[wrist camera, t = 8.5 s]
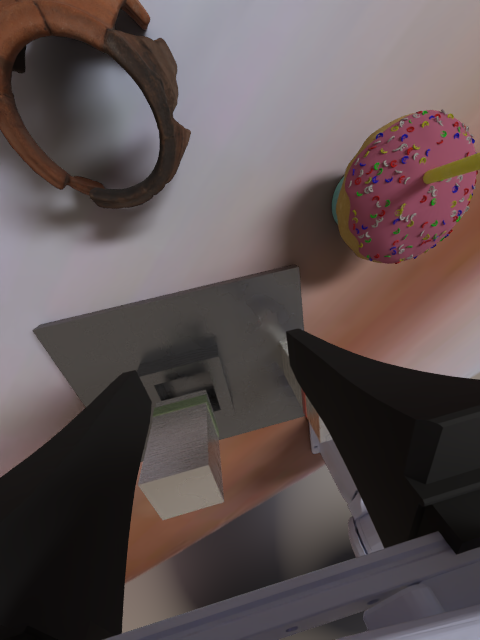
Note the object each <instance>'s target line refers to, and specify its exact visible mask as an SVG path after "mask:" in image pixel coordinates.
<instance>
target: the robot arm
mask: <svg viewBox="0 0 480 640" xmlns="http://www.w3.org/2000/svg"><path fill="white" fill-rule="evenodd" d="M286 337H287V345H288V354H289V362H290V367H291V369H292V371H293V373H294V375H295V378H296V380H297V382H298V383H299V385H300V387H301V388H302V390H303V391H304V393H305V395H306V396H307V398H308V399H309V401H310V402H311V404H312V405H313V407H314V409H315V410H316V412H317V413H318V415H319V416H320V418H321V419H322V421H323V423H324V424H325V426H326V428H327V430H328V431H329V433H330V435H331V437H332V439H333V440H329V441H326V442H322V443H320V441H319V439H318V438H317V436H316V434H315V432H314V430H313V428H312V426H311V424H310V422H309V429H310V441H311V451H312V453H313V454H317V453H320V454H321V456H322V458H323V460H324V462H325V464H326V466H327V467H328V469H329V471H330V473H331V475H332V477H333V479H334V481H335V483H336V485H337V487H338V489H339V491H340V493H341V495H342V497H343V498H344V500H345V501H346V502H347V506H348V508H349V510H350V512H351V514H352V517H351V518H350V519H349V522H348V526H349V538H350V542H351V545H352V548H353V551H354V553H355V556H356V558H354V559H351V560H348V561H345V562H341V563H338V564H335V565H332V566H329V567H326V568H323V569H320V570H317V571H314V572H310V573H307V574H304V575H301V576H298V577H295V578H292V579H289V580H286V581H283V582H280V583H276V584H273V585H270V586H267V587H264V588H261V589H258V590H255V591H252V592H249V593H246V594H242V595H240V596H236V597H233V598H230V599H227V600H224V601H221V602H218V603H215V604H212V605H209V606H205V607H202V608H199V609H196V610H193V611H190V612H187V613H184V614H181V615H177V616H175V617H172V618H168V619H165V620H162V621H159V622H156V623H153V624H150V625H147V626H144V627H141V628H137V629H134V630H131V631H128V632H125V633H122V617H123V600H124V584H125V572H126V560H127V549H128V539H129V530H130V522H131V513H132V506H133V499H134V492H135V485H136V480H137V475H138V471H139V467H140V462H141V458H142V454H143V450H144V446H145V442H146V438H147V433H148V429H149V424H150V417H151V406H152V401H151V399H150V397H149V395H148V393H147V391H146V389H145V387H144V385H143V383H142V381H141V379H140V377H139V375H138V374H137V372H136V370H133V371H129V372H125V373H122V374H121V375H120V376H118V377H117V378H116V379H115V380H114V381H113V382H112V383H111V384H110V385H109V386H108V387H107V388H106V389H105V390H104V391H103V392H102V393H101V394H100V395H98V396H97V397H96V398H95V399H94V400H93V401H92V402H91V403H90V404H89V405H88V406H87V407H86V408H85V409H84V410H83V411H82V412H81V413H80V414H79V415H78V416H76V417H75V418H74V419H73V420H72V421H71V422H70V423H69V424H68V425H67V426H66V427H64V428H63V429H62V430H61V431H60V432H59V433H58V434H56V435H55V436H54V437H53V438H52V439H51V440H49V441H48V442H47V443H46V444H44V445H43V446H42V447H41V448H39V449H38V450H37V451H36V452H34V453H33V454H32V455H31V456H29V457H28V458H27V459H25V460H24V461H23V462H21V463H20V464H18V465H17V466H16V467H14V468H13V469H12V470H10V471H9V472H8V473H6V474H5V475H3V476H2V477H1V478H0V640H279V639H281V638H284V637H287V636H290V635H293V634H296V633H299V632H302V631H305V630H308V629H311V628H314V627H317V626H320V625H323V624H326V623H329V622H332V621H335V620H338V619H340V618H343V617H346V616H349V615H352V614H355V613H358V612H361V611H364V610H366V611H365V612H364V618H363V619H364V621H365V623H366V626H367V631H366V632H363V633H359V634H355V635H351V636H346V637H342V638H338V639H334V640H480V380H477V379H469V378H460V377H452V376H446V375H440V374H434V373H428V372H422V371H417V370H412V369H408V368H403V367H399V366H395V365H391V364H387V363H383V362H380V361H376V360H373V359H370V358H367V357H364V356H361V355H358V354H355V353H352V352H350V351H347V350H345V349H342V348H340V347H337V346H335V345H333V344H330V343H328V342H326V341H324V340H322V339H320V338H318V337H315V336H313V335H311V334H309V333H307V332H305V331H303V330H301V329H299V328H297V329H293V330H290V331H286ZM367 609H368V610H367Z"/></svg>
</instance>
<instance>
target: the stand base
mask: <svg viewBox="0 0 480 640" xmlns="http://www.w3.org/2000/svg"><path fill="white" fill-rule="evenodd" d="M297 328H299V329H301V330H303V331H304V324H303V311H302V298H301V285H300V272H299V266H297V265H295V264H294V265H290V266H286V267H281V268H277V269H273V270H269V271H265V272H260V273H256V274H252V275H248V276H244V277H239V278H235V279H231V280H227V281H222V282H218V283H214V284H210V285H206V286H201V287H197V288H193V289H189V290H185V291H180V292H176V293H172V294H168V295H163V296H159V297H155V298H151V299H147V300H142V301H138V302H134V303H130V304H126V305H121V306H117V307H113V308H109V309H104V310H100V311H96V312H92V313H88V314H83V315H79V316H75V317H71V318H67V319H62V320H58V321H54V322H50V323H45V324H41V325H39V326H38V327H36V328H35V329H34V330H33V332H34V333H35V335H36V336H37V338H38V339H39V340H40V342H41V343H42V345H43V346H44V348H45V349H46V351H47V352H48V353H49V355H50V356H51V358H52V359H53V361H54V362H55V364H56V365H57V366H58V368H59V369H60V371H61V372H62V374H63V375H64V377H65V378H66V379H67V381H68V382H69V384H70V385H71V387H72V388H73V390H74V391H75V392H76V394H77V395H78V397H79V398H80V400H81V401H82V403H83V404H84V405H85V407H87V406H88V405H89V404H90V403H91V402H92V401H93V400H94V399H95V398H96V397H97V396H98V395H100V394H101V393H102V392H103V391H104V390H105V389H106V388H107V387H108V386H109V385H110V384H111V383H112V382H113V381H114V380H115V379H116V378H117V377H118V376H120V375H121V374H122V373H125V372H129V371H133V370H136V372H137V374H138V375H139V377H140V379H141V381H142V383H143V385H144V387H145V389H146V391H147V393H148V395H149V397H150V399H151V401H152V406H151V417H150V424H149V429H148V433H147V438H146V442H145V446H144V450H143V454H142V458H141V462H142V461H144V456H145V452H146V448H147V443H148V439H149V434H150V430H151V425H152V421H153V412H154V408H155V407H156V403H157V402H160V401H164V400H168V399H171V398H175V397H179V396H183V395H186V394H190V393H194V392H198V391H201V390H205V389H206V392H207V395H208V397H209V400H210V403H211V406H212V409H213V412H214V415H215V418H216V421H217V425H218V429H219V440H221V439H224V438H228V437H232V436H235V435H239V434H242V433H246V432H249V431H253V430H257V429H260V428H264V427H267V426H271V425H274V424H278V423H282V422H285V421H289V420H292V419H296V418H299V417H303V416H306V418H307V419H308V420H309V422H310V424H311V426H312V428H313V430H314V432H315V434H316V436H317V438H318V439H319V441H320V443H322V442H326V441H329V440H333V439H332V437H331V435H330V433H329V431H328V430H327V428H326V426H325V424H324V423H323V421H322V419H321V418H320V416H319V415H318V413H317V412H316V410H315V409H314V407H313V405H312V404H311V402H310V401H309V399H308V398H307V396H306V395H305V393H304V391H303V390H302V388H301V387H300V385H299V383H298V382H297V380H296V378H295V375H294V373H293V371H292V369H291V367H290V362H289V354H288V345H287V337H286V331H290V330H293V329H297Z"/></svg>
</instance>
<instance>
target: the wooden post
mask: <svg viewBox="0 0 480 640" xmlns="http://www.w3.org/2000/svg"><path fill="white" fill-rule="evenodd" d="M138 486H139V487H140V489H141V490H142V491H143V493H144V494H145V496H146V497H147V499H148V500H149V501H150V503H151V504H152V506H153V507H154V509H155V510H156V511H157V513H158V514H159V516H160V517H161V519H162V520H165V519H168V518H172V517H175V516H179V515H182V514H185V513H189V512H192V511H195V510H199V509H202V508H205V507H209V506H212V505H216V504H219V503H222V502H224V495H223V483H222V472H221V460H220V448H219V429H218V425H217V421H216V418H215V415H214V412H213V409H212V406H211V403H210V400H209V397H208V395H207V392H206V389H205V390H201V391H198V392H194V393H190V394H186V395H183V396H179V397H175V398H171V399H168V400H164V401H160V402H157V403H156V407H155V408H154V412H153V421H152V425H151V430H150V434H149V439H148V443H147V448H146V452H145V456H144V461H143V465H142V470H141V474H140V479H139V483H138Z"/></svg>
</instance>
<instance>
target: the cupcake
mask: <svg viewBox="0 0 480 640" xmlns="http://www.w3.org/2000/svg"><path fill="white" fill-rule="evenodd" d="M441 111H442V112H439V111H434V110H427V111H419V112H416V113H413V114H409V115H406V116H403V117H400V118H398V119H396V120H394V121H392V122H390V123H388V124H387V125H385V126H383V127H382V128H380V129H378V130H377V131H375V132H374V133H373V134H371V135H370V136H369V137H368V138H367V139H366V141H365V142H364V144H363V145H362V147H361V148H360V150H359V151H358V153H357V154H356V155H355V157H354V158H353V159H352V160H351V162H350V163H349V164H348V166H347V169H346V172H345V176H344V177H343V178H342V179H341V180H340V182H339V183H338V185H337V187H336V189H335V192H334V195H333V199H332V213H333V217H334V220H335V221H336V223H337V224H338V227H339V232H340V235H341V237H342V239H343V240H344V241H345V243H346V244H347V245H348V246H349V247H350V248H351V249H352V250H353V251H354V253H355V254H356V255H357V256H358V257H360V258H362V259H366V260H370V261H373V262H378V263H388V264H389V263H395V264H397V263H400V262H401V261H405V260H408V259H411V258H414V259H415V258H416V257H417V256H418V255H420V254H422V253H423V252H424V253H426V252H427V251H428V250H429V248H433V247H435V246H436V243H438V242H439V241H442V240H443V239H444V238H446V237H447V236H448V235H449V233H451V232H452V231H453V230H451V229H452V228H453V227H454V225H455V224H456V223H457V222H458V221H459V220H460V218H461V217H462V215H463V214H464V213H465V212H466V211H467V210H468V209H469V207H468V205H469V203H470V199H471V198H472V196H473V194H472V192H473V189H475V183H476V174H478V171H477V170H479V169H480V153H476V152H475V148H474V145H473V143H474V142H475V140H474V139H472V137H473V135H472V134H469V132H468V128H469V127H468V126H467V127H465V125H464V124H463V123H461V122H460V121H458V120H457V119H455V118H454V116H453V115H452V114H448V115H447V114H446V112H445V111H444V110H443V109H442V110H441ZM466 208H467V210H466ZM450 231H451V232H450ZM446 235H447V236H446ZM445 236H446V237H445ZM434 245H435V246H434ZM432 246H433V247H432Z"/></svg>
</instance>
